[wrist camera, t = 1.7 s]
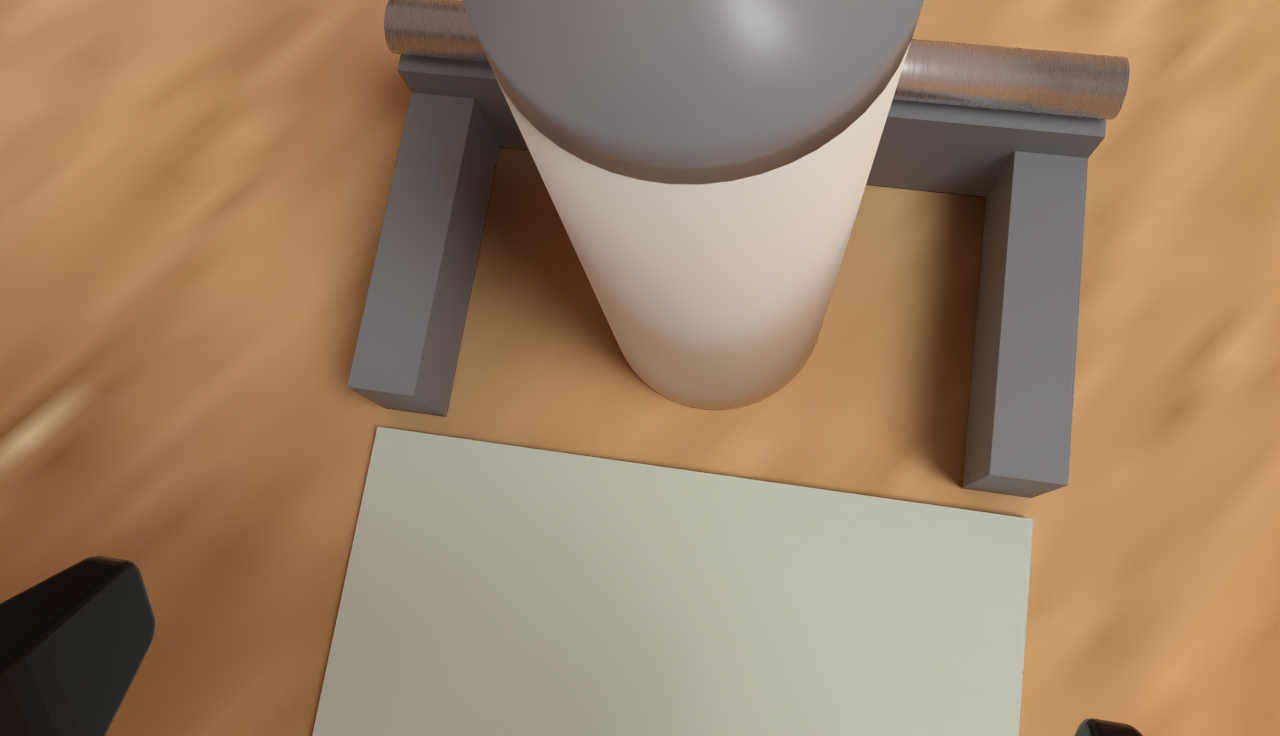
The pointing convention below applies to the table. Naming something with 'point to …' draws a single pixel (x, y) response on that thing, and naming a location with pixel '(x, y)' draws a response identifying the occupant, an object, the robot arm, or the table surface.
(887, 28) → the grey capped tube
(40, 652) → the robot arm
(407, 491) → the sage mat
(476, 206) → the dispenser rack
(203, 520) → the table surface
